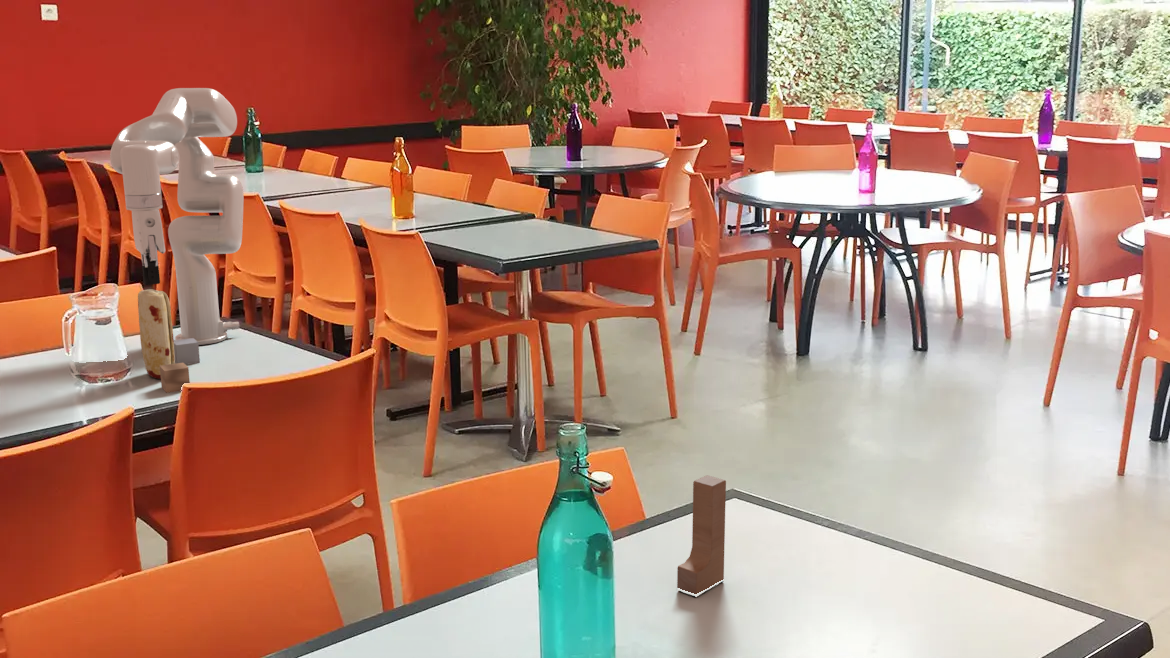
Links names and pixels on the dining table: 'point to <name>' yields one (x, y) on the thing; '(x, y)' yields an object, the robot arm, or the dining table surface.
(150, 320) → the food model
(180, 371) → the walnut cube
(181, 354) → the slate cube
